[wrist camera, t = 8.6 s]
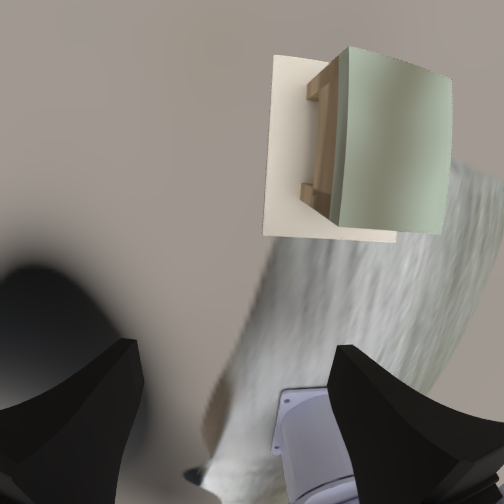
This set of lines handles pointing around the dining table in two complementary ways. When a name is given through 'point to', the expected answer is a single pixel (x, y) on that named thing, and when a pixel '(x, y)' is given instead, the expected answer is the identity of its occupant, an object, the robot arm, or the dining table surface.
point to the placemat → (298, 158)
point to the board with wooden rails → (381, 144)
